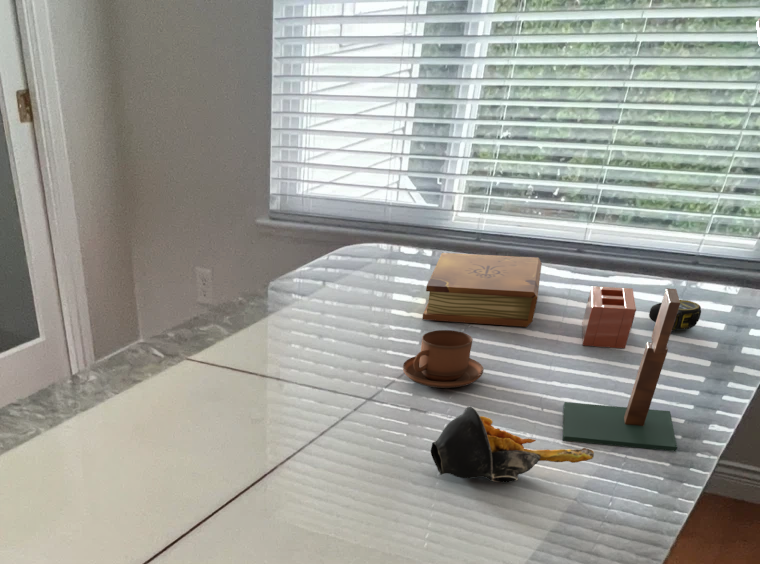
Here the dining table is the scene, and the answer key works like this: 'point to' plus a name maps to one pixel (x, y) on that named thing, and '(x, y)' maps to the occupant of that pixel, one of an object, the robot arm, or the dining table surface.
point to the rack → (608, 317)
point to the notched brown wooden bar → (652, 361)
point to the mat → (617, 427)
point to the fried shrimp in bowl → (490, 450)
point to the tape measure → (681, 314)
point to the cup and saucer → (444, 361)
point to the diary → (483, 289)
